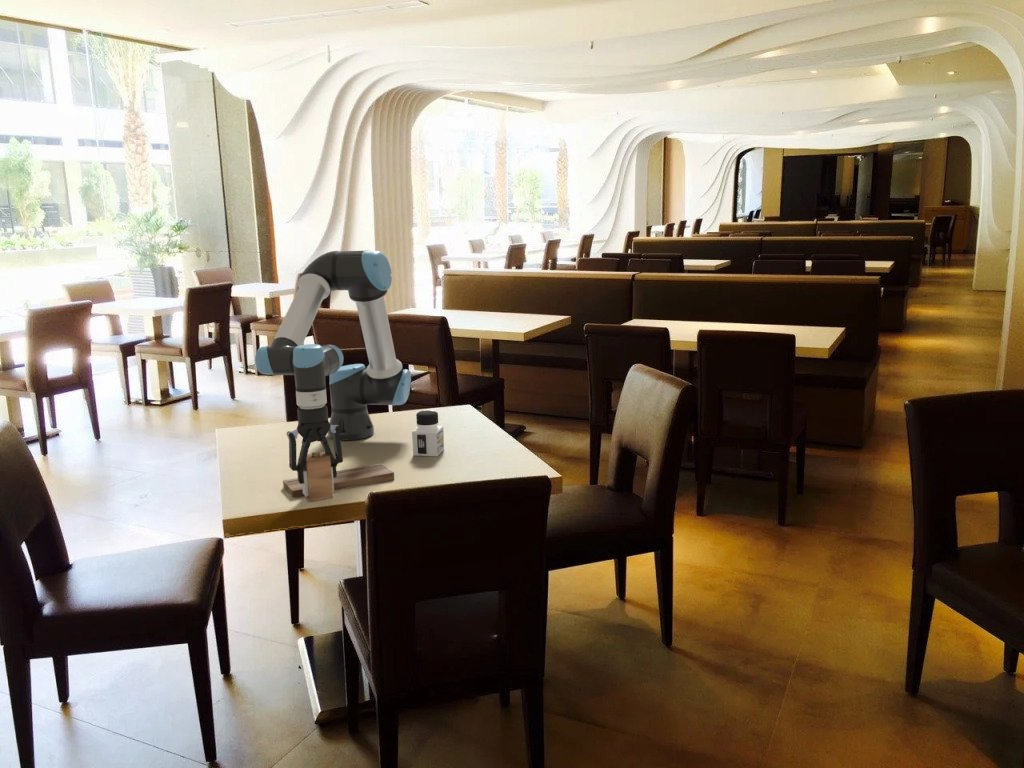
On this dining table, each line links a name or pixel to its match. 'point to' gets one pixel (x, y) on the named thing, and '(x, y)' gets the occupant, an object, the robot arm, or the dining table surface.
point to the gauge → (318, 476)
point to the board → (347, 479)
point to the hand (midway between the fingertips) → (318, 492)
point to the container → (427, 434)
